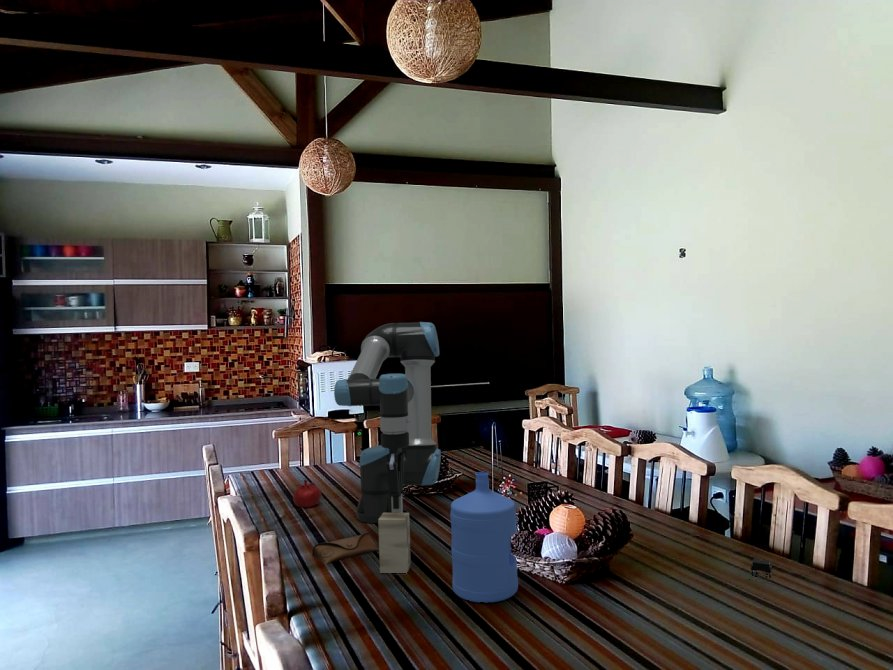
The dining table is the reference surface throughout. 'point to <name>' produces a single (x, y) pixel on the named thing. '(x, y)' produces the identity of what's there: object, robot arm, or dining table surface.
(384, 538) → the cream and teal box
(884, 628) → the dining table surface
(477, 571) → the water jug
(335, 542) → the sunglasses case
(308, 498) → the pomegranate
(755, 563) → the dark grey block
